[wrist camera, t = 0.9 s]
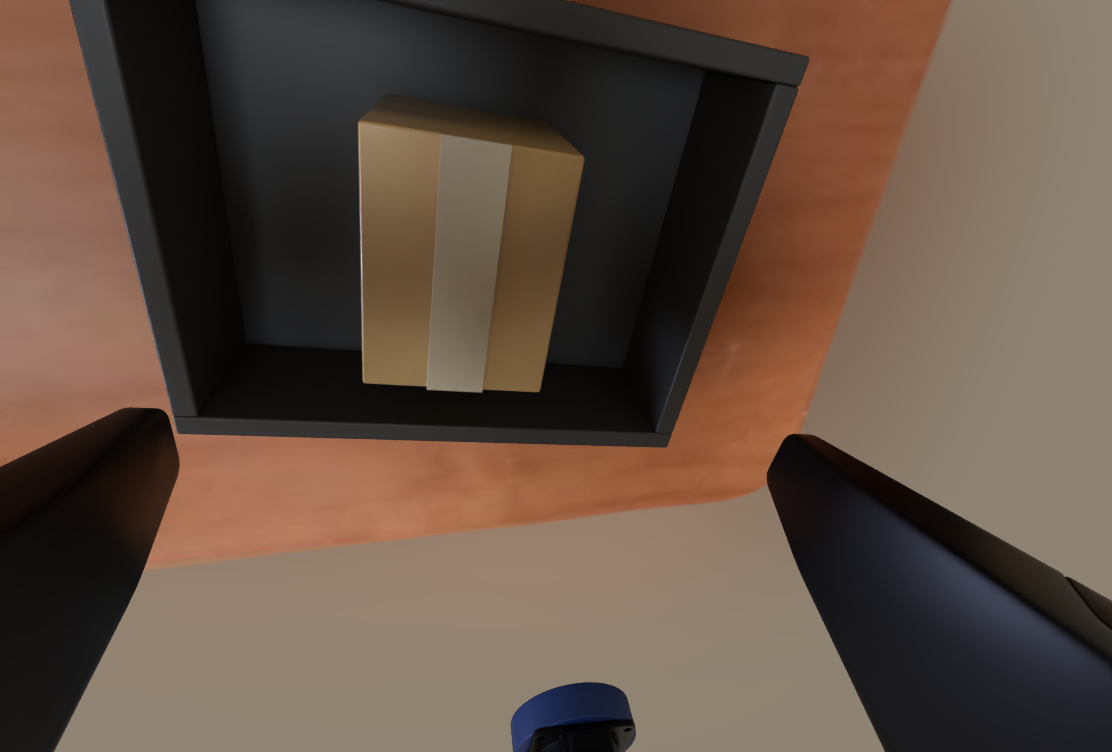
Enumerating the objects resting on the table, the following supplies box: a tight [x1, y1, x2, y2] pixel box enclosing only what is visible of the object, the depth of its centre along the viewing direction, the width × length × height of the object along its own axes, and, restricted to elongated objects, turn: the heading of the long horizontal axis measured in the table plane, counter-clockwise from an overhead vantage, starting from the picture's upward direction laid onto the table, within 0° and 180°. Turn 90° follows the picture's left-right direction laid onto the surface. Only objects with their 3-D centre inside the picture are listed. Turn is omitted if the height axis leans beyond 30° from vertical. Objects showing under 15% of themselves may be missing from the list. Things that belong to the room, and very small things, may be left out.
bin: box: [69, 0, 809, 448], centre depth 15 cm, size 11×14×4 cm
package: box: [358, 94, 585, 393], centre depth 14 cm, size 6×4×5 cm
